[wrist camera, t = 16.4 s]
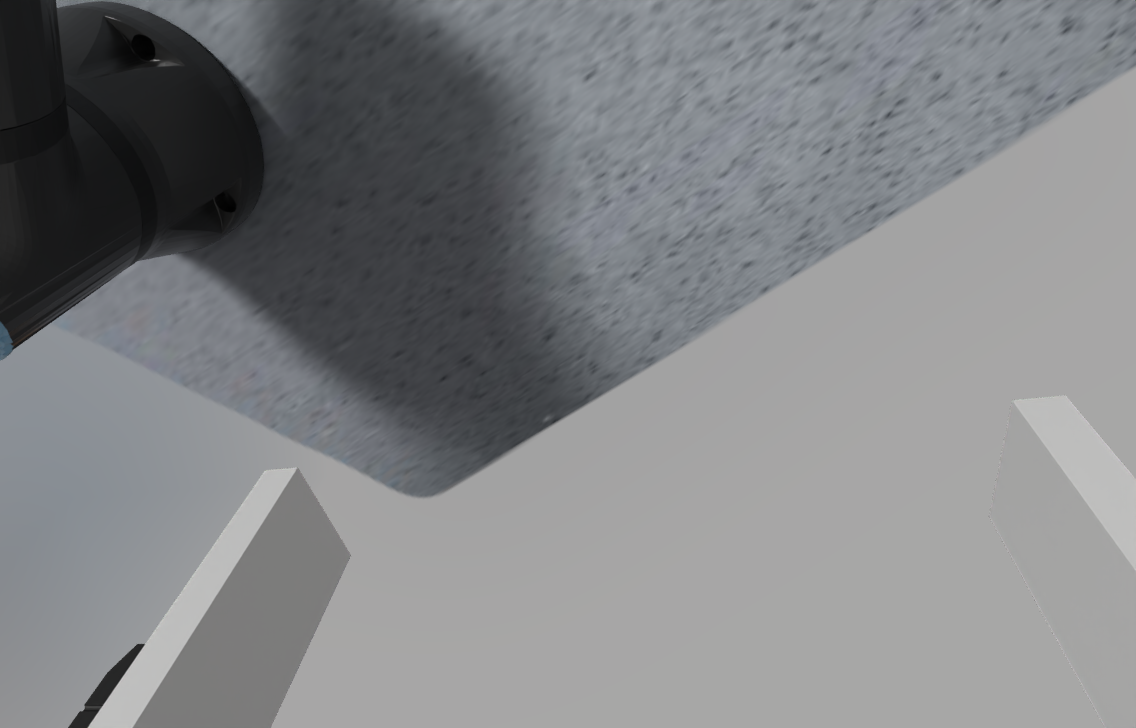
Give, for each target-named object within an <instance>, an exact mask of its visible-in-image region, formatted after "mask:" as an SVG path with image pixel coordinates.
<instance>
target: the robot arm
mask: <svg viewBox="0 0 1136 728" xmlns="http://www.w3.org/2000/svg"><path fill="white" fill-rule="evenodd" d="M262 181H263V154H262V147H261V142H260V138H259V134H258V131H257V128H256V125H255V122H254V120H253V117H252V115H251V113H250V110H249V108H248V106H247V104H246V102H245V100H244V99H243V97H242V95H241V93H240V92H239V90H238V89H237V87H236V86H235V84H234V83H233V81H232V80H231V78H230V77H229V76H228V74H227V73H226V72H225V71H224V69H223V68H222V67H221V66H220V65H219V63H218V62H217V61H216V60H215V59H214V58H213V57H212V56H211V55H210V54H209V53H208V52H207V51H206V50H205V49H204V48H203V47H202V46H201V45H199V44H198V43H197V42H196V41H195V40H194V39H192V38H191V37H190V36H189V35H187V34H186V33H184V32H183V31H182V30H180V29H179V28H177V27H176V26H174V25H173V24H171V23H169V22H168V21H166V20H164V19H162V18H160V17H158V16H156V15H154V14H152V13H150V12H147V11H144V10H142V9H139V8H136V7H133V6H129V5H125V4H120V3H114V2H89V3H82V4H76V5H70V6H64V7H60V8H57V7H56V0H0V360H3V359H4V358H5V357H7V356H8V355H9V354H10V353H11V352H12V351H13V349H15V348H16V347H17V346H19V345H20V344H22V343H23V342H24V341H26V340H27V339H29V338H30V337H31V336H33V335H34V334H36V333H37V332H38V331H40V330H41V329H43V328H44V327H45V326H47V325H48V324H50V323H51V322H52V321H54V320H55V319H57V318H58V317H59V316H61V315H62V314H64V313H65V312H66V311H68V310H69V309H71V308H72V307H73V306H75V305H76V304H78V303H79V302H80V301H82V300H83V299H85V298H86V297H87V296H89V295H90V294H92V293H93V292H94V291H96V290H97V289H99V288H100V287H101V286H103V285H104V284H106V283H107V282H108V281H110V280H111V279H113V278H114V277H115V276H117V275H118V274H120V273H121V272H122V271H123V270H125V269H126V268H128V267H129V266H131V265H132V264H134V263H135V262H137V261H140V260H145V259H150V258H156V257H161V256H166V255H171V254H176V253H182V252H187V251H192V250H196V249H200V248H203V247H205V246H208V245H210V244H212V243H214V242H216V241H218V240H220V239H221V238H222V237H224V236H225V235H227V234H228V233H229V232H230V231H232V230H233V229H234V228H236V227H237V226H238V225H240V224H241V223H242V222H243V221H244V220H245V219H246V218H247V217H248V215H249V214H250V213H251V211H252V210H253V208H254V206H255V204H256V202H257V200H258V197H259V194H260V191H261V187H262ZM989 518H990V520H991V522H992V523H993V525H994V527H995V529H996V531H997V532H998V534H999V536H1000V538H1001V540H1002V542H1003V543H1004V545H1005V547H1006V549H1007V551H1008V552H1009V554H1010V556H1011V558H1012V560H1013V562H1014V563H1015V565H1016V567H1017V569H1018V571H1019V573H1020V574H1021V576H1022V578H1023V580H1024V582H1025V583H1026V585H1027V587H1028V589H1029V591H1030V592H1031V594H1032V596H1033V598H1034V600H1035V602H1036V603H1037V605H1038V607H1039V609H1040V611H1041V613H1042V614H1043V616H1044V618H1045V620H1046V622H1047V624H1048V625H1049V627H1050V629H1051V631H1052V633H1053V634H1054V636H1055V638H1056V640H1057V641H1058V643H1059V645H1060V647H1061V649H1062V651H1063V653H1064V654H1065V656H1066V658H1067V660H1068V662H1069V663H1070V665H1071V667H1072V669H1073V671H1074V673H1075V675H1076V676H1077V678H1078V680H1079V682H1080V683H1081V685H1082V687H1083V689H1084V691H1085V692H1086V695H1087V696H1088V698H1089V700H1090V702H1091V704H1092V705H1093V707H1094V709H1095V711H1096V713H1097V715H1098V716H1099V718H1100V720H1101V722H1102V724H1103V725H1104V727H1105V728H1136V479H1135V478H1134V476H1133V475H1132V474H1131V473H1130V472H1129V470H1128V469H1127V468H1126V467H1125V466H1124V464H1123V463H1122V462H1121V461H1120V460H1119V459H1118V458H1117V456H1116V455H1115V454H1114V453H1113V452H1112V450H1111V449H1110V448H1109V447H1108V446H1107V444H1106V443H1105V442H1104V441H1103V440H1102V438H1101V437H1100V436H1099V435H1098V434H1097V432H1096V431H1095V430H1094V429H1093V428H1092V427H1091V425H1090V424H1089V423H1088V422H1087V421H1086V419H1085V418H1084V417H1083V416H1082V415H1081V413H1080V412H1079V411H1078V410H1077V409H1076V408H1075V406H1074V405H1073V404H1072V403H1071V402H1070V400H1069V399H1068V398H1067V397H1066V396H1065V395H1064V396H1054V397H1043V398H1033V399H1022V400H1012V403H1011V408H1010V413H1009V418H1008V423H1007V428H1006V433H1005V438H1004V443H1003V448H1002V453H1001V458H1000V464H999V469H998V473H997V478H996V483H995V488H994V493H993V498H992V503H991V508H990V513H989ZM350 556H351V555H350V553H349V551H348V550H347V548H346V547H345V545H344V543H343V541H342V540H341V538H340V537H339V535H338V533H337V532H336V530H335V528H334V527H333V525H332V523H331V522H330V520H329V518H328V517H327V515H326V513H325V512H324V510H323V508H322V507H321V505H320V504H319V502H318V500H317V498H316V497H315V496H314V494H313V492H312V490H311V489H310V487H309V485H308V484H307V482H306V481H305V479H304V477H303V476H302V474H301V472H300V470H299V469H298V468H286V469H276V470H265V471H264V473H263V474H262V476H261V477H260V479H259V480H258V482H257V483H256V484H255V486H254V487H253V489H252V490H251V492H250V493H249V495H248V496H247V497H246V499H245V500H244V502H243V503H242V505H241V506H240V508H239V509H238V511H237V512H236V513H235V515H234V516H233V518H232V519H231V521H230V522H229V524H228V525H227V526H226V528H225V529H224V531H223V532H222V534H221V535H220V537H219V538H218V540H217V541H216V542H215V544H214V545H213V547H212V548H211V550H210V551H209V553H208V554H207V555H206V557H205V558H204V560H203V561H202V563H201V564H200V566H199V567H198V569H197V570H196V572H195V573H194V574H193V576H192V577H191V579H190V580H189V582H188V583H187V584H186V586H185V588H184V589H183V590H182V592H181V593H180V595H179V596H178V597H177V599H176V601H175V602H174V603H173V605H172V606H171V608H170V609H169V611H168V612H167V613H166V615H165V616H164V618H163V619H162V621H161V622H160V624H159V625H158V627H157V628H156V629H155V631H154V632H153V634H152V635H151V637H150V638H149V640H148V641H147V642H146V644H137V645H136V646H135V647H134V648H133V649H132V650H131V651H130V652H129V653H128V654H127V655H125V657H123V658H122V660H120V661H119V662H118V663H117V664H116V665H115V666H114V667H113V668H112V669H111V670H110V671H109V672H108V673H107V674H106V675H105V677H104V678H103V680H102V681H101V683H100V684H99V685H98V687H97V688H96V689H95V691H94V692H93V694H92V695H91V696H90V698H89V699H88V701H87V702H86V703H85V709H84V710H83V711H82V712H81V711H80V712H79V713H78V715H77V716H76V718H75V719H74V720H73V722H72V723H71V725H70V726H69V727H68V728H271V725H272V723H273V721H274V719H275V717H276V715H277V713H278V710H279V708H280V706H281V704H282V702H283V700H284V698H285V695H286V693H287V691H288V689H289V687H290V685H291V683H292V681H293V678H294V676H295V674H296V672H297V670H298V668H299V666H300V663H301V661H302V659H303V657H304V655H305V653H306V650H307V648H308V646H309V644H310V642H311V640H312V638H313V636H314V633H315V631H316V629H317V627H318V625H319V622H320V621H321V618H322V616H323V614H324V612H325V610H326V608H327V606H328V603H329V601H330V599H331V597H332V595H333V593H334V591H335V588H336V586H337V584H338V582H339V580H340V578H341V576H342V573H343V571H344V569H345V567H346V565H347V563H348V561H349V559H350Z"/></svg>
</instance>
